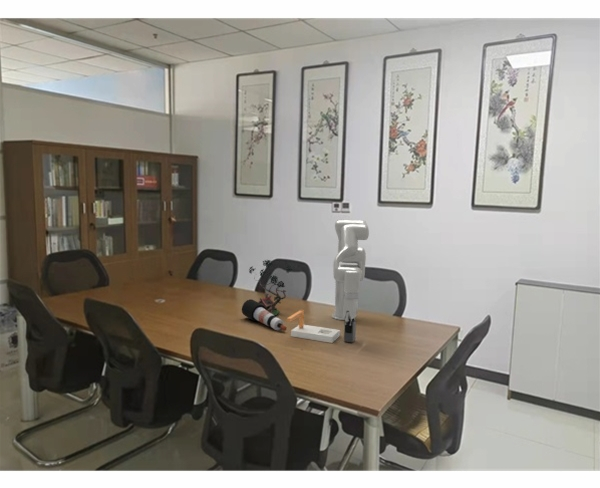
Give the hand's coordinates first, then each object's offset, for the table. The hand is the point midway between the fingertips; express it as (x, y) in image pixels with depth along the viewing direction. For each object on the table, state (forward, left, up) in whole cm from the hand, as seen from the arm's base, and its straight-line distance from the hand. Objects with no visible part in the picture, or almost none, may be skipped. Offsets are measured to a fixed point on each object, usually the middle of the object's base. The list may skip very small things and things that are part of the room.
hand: (349, 331), depth 230 cm
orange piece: (+8, -26, -2) cm, 27 cm away
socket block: (0, -18, -6) cm, 19 cm away
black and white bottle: (-8, -50, -7) cm, 51 cm away
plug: (0, 0, -5) cm, 5 cm away
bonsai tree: (-34, -64, -7) cm, 73 cm away
